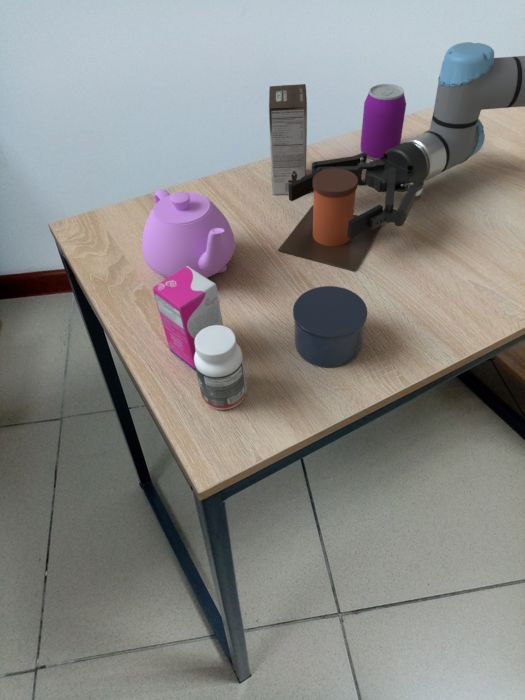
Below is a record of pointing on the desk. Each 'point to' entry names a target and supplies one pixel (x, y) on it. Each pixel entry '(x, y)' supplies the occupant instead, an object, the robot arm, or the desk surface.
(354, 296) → the tin
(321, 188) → the canister
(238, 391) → the pill bottle
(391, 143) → the beverage can
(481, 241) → the desk surface
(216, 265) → the teapot
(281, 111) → the coffee box
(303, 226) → the plate
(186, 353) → the supplement box
